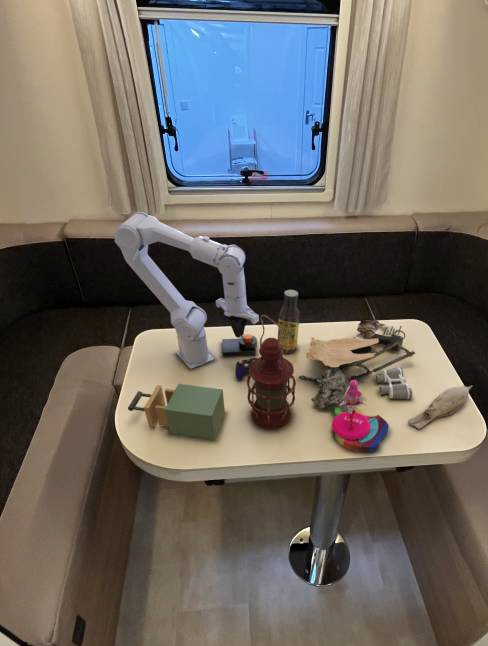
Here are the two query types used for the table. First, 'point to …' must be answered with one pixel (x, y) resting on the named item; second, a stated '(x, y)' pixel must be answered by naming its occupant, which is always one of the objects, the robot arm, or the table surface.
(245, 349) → the button box
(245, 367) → the gaming controller
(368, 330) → the oyster
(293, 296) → the sauce bottle
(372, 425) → the decorative object
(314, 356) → the tan craggy stone
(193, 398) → the cabinet
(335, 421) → the figurine
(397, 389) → the binoculars
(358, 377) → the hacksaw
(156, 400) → the drawer
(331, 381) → the rock
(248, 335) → the button
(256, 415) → the lantern
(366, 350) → the phone
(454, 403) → the sculpture
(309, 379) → the knife
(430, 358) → the table surface
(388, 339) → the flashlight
